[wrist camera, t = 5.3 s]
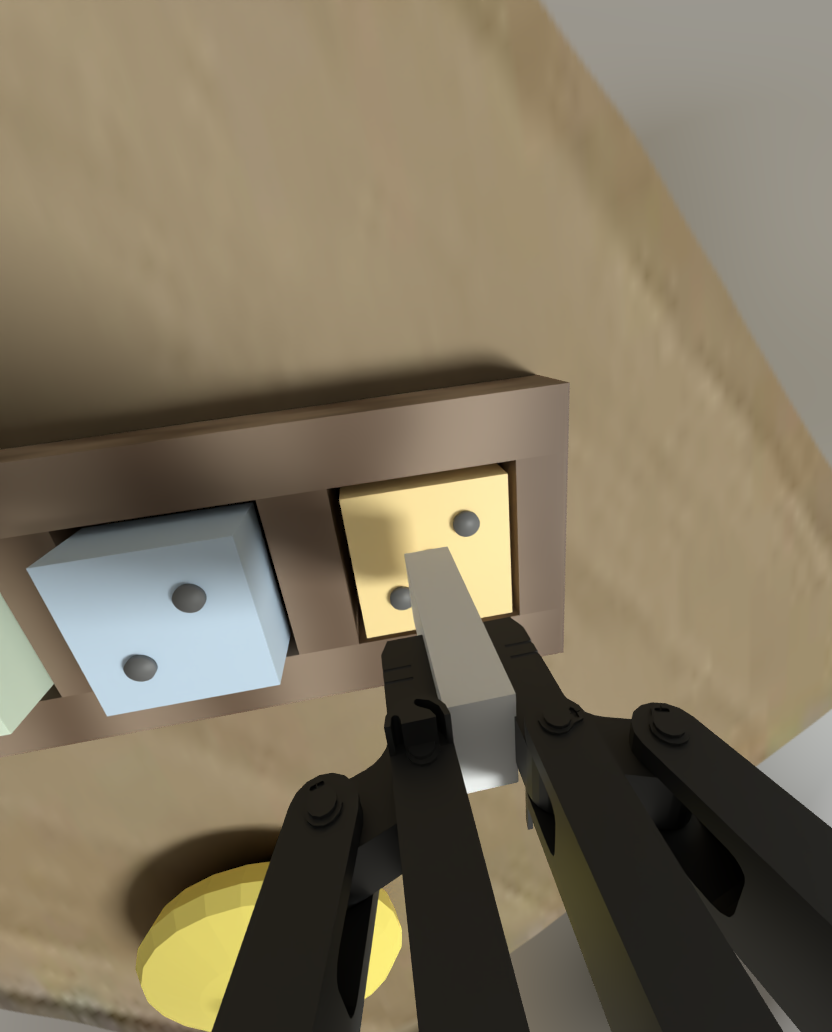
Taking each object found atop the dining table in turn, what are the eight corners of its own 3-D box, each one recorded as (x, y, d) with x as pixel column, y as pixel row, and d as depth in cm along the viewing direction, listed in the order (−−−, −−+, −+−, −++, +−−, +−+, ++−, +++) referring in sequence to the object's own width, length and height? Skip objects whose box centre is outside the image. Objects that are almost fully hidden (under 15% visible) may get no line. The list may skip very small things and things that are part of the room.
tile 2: (143, 659, 19) (104, 721, 16) (81, 527, 16) (21, 571, 13) (290, 633, 19) (279, 688, 16) (252, 501, 16) (231, 538, 14)
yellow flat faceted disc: (188, 806, 25) (131, 969, 19) (434, 841, 29) (457, 984, 23) (134, 957, 30) (73, 1128, 24) (351, 969, 34) (351, 1117, 28)
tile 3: (365, 597, 21) (367, 641, 18) (341, 474, 18) (339, 501, 15) (492, 576, 21) (513, 615, 18) (485, 452, 19) (509, 475, 16)
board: (-75, 723, 21) (-141, 783, 18) (-262, 485, 16) (-390, 517, 13) (538, 613, 23) (563, 652, 20) (536, 374, 18) (569, 382, 15)
